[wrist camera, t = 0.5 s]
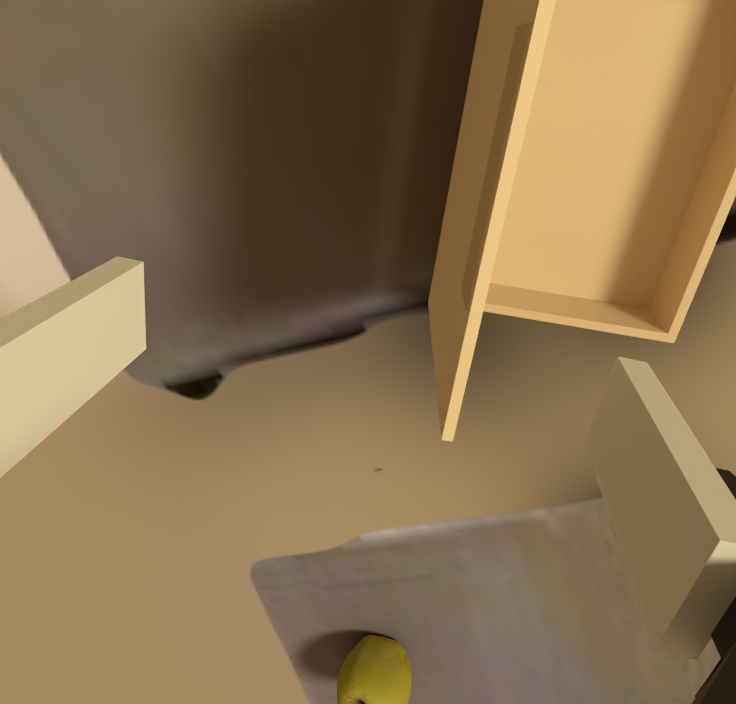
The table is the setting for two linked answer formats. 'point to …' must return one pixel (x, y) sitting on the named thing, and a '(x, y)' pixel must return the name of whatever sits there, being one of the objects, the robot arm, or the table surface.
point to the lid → (482, 186)
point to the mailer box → (622, 167)
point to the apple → (375, 673)
